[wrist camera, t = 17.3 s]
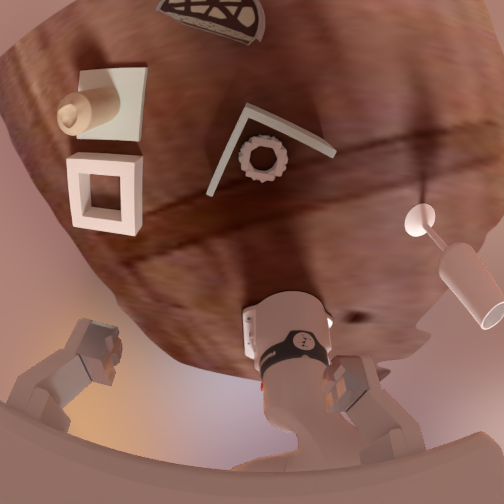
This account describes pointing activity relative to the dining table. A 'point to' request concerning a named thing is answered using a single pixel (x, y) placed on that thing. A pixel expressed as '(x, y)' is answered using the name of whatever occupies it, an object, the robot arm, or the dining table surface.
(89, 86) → the cream tile
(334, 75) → the dining table surface
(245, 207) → the dining table surface
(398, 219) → the dining table surface
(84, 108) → the candle
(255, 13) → the food container
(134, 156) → the pocket block
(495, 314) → the champagne flute
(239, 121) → the l-shaped corner panel
